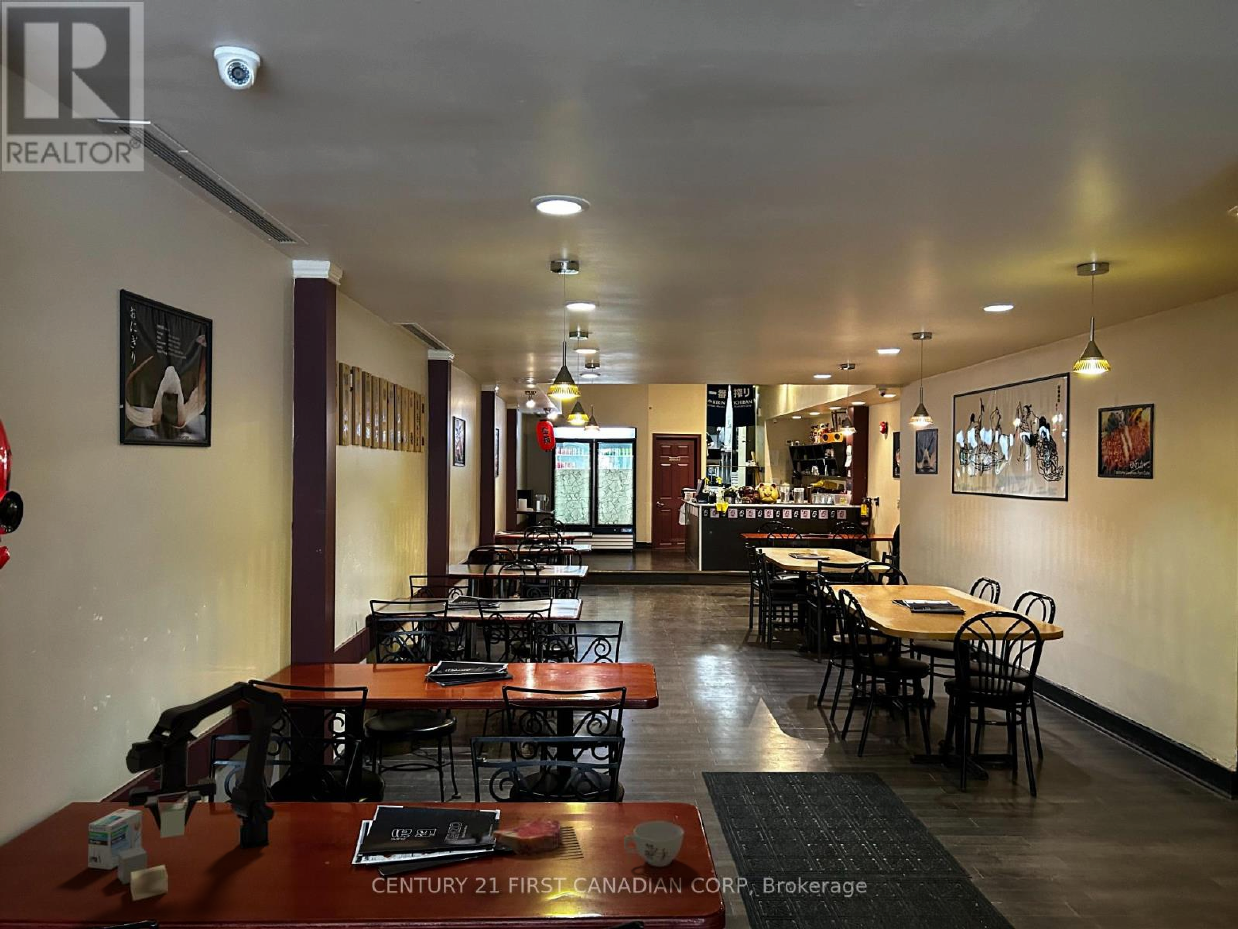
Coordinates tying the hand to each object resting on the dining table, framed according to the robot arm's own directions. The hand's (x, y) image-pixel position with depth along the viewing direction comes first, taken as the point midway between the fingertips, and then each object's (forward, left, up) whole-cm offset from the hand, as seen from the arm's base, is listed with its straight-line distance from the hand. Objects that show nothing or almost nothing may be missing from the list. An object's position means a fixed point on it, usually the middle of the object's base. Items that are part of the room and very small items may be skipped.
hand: (172, 827), depth 206 cm
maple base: (+5, +5, -12) cm, 14 cm away
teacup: (-107, +49, -12) cm, 118 cm away
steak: (-83, +25, -13) cm, 88 cm away
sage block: (0, 0, -1) cm, 1 cm away
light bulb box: (+12, -17, -12) cm, 24 cm away
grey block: (+8, -4, -12) cm, 15 cm away
